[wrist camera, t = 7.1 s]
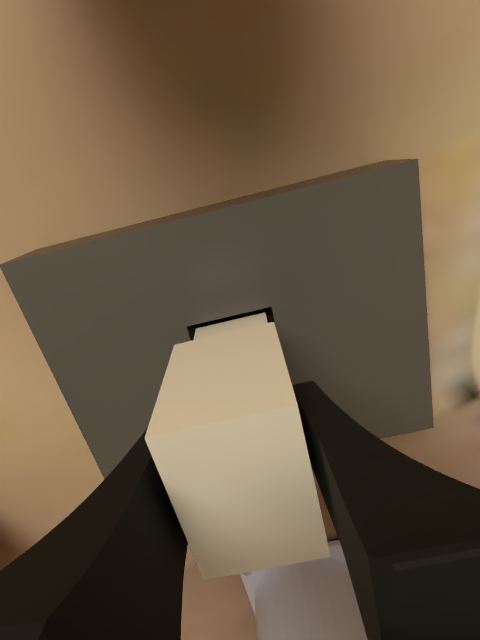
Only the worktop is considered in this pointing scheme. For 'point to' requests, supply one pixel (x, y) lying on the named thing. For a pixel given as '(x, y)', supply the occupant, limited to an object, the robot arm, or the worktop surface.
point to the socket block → (243, 300)
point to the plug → (236, 451)
